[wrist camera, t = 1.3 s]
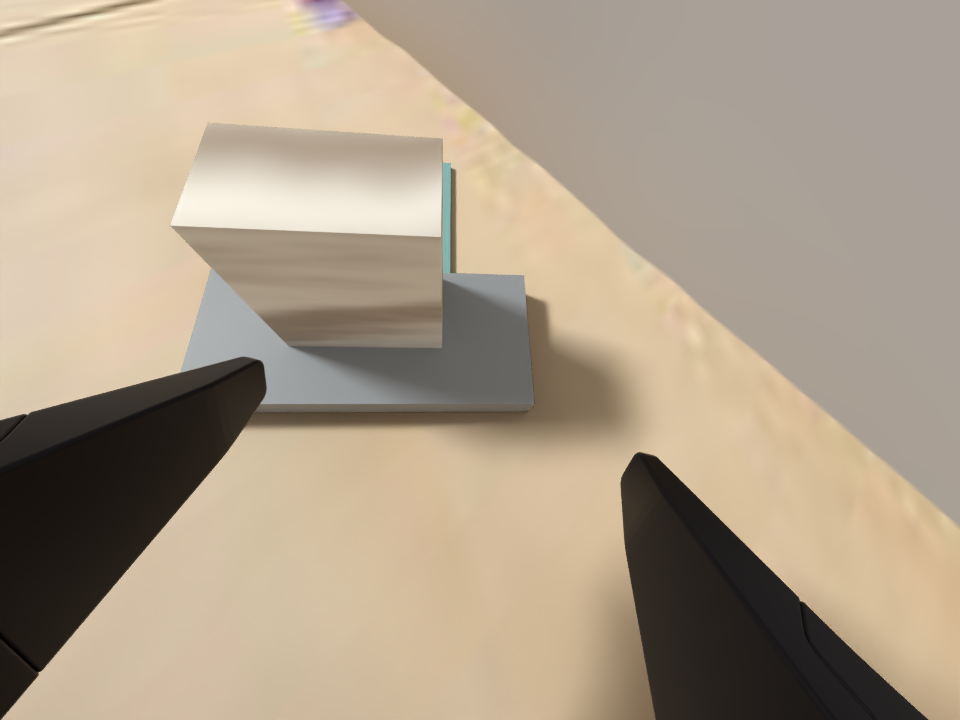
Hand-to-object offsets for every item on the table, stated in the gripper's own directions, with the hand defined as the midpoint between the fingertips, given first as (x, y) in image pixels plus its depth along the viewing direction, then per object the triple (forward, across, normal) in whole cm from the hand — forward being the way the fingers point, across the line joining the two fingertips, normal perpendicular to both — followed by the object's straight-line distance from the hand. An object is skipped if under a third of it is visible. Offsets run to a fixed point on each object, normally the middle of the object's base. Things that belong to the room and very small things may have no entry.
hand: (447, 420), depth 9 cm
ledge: (+14, +7, +7) cm, 17 cm away
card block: (+14, +7, +5) cm, 16 cm away
